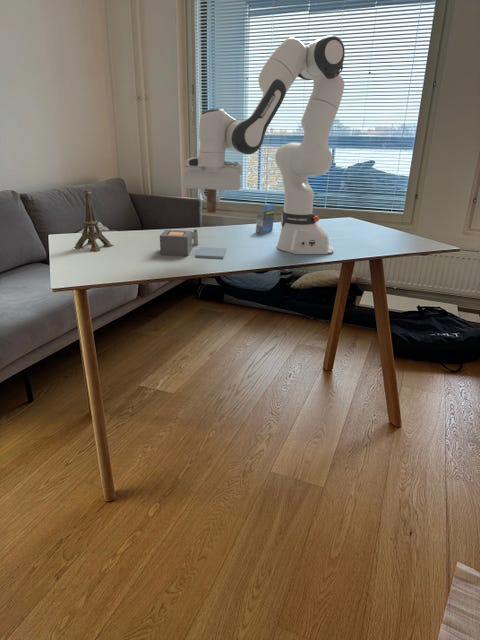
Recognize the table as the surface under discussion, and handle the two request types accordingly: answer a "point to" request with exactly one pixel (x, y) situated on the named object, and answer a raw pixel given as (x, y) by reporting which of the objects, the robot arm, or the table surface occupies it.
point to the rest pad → (211, 252)
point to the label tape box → (265, 220)
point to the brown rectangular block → (211, 200)
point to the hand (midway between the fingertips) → (211, 202)
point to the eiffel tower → (91, 227)
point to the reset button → (176, 233)
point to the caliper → (195, 237)
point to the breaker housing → (176, 243)
